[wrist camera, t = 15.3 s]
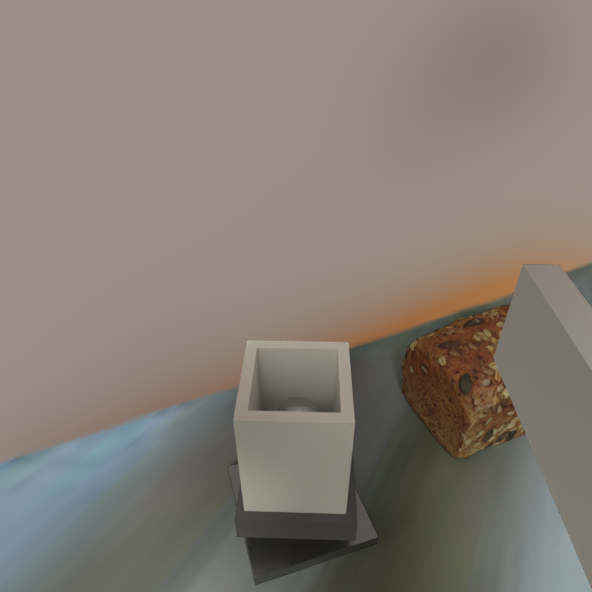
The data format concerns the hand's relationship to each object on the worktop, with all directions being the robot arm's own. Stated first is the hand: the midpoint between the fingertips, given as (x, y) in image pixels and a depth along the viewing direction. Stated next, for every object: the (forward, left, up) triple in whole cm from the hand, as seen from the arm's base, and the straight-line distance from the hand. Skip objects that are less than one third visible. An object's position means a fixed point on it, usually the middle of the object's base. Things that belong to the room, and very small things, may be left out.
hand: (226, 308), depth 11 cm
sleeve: (-6, -13, -27) cm, 30 cm away
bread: (-29, -18, -32) cm, 47 cm away
